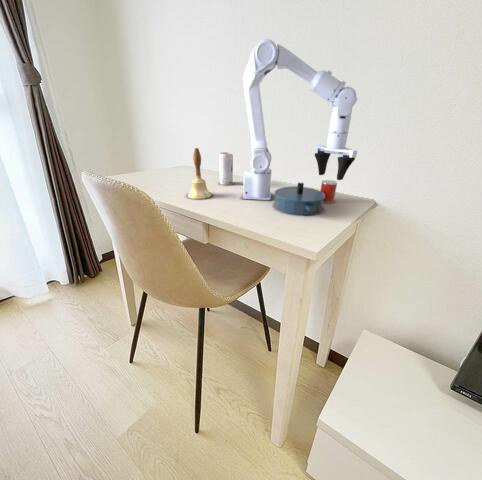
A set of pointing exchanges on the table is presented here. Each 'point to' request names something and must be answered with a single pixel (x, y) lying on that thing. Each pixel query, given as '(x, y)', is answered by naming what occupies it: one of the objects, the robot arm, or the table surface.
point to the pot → (298, 207)
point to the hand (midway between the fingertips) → (330, 177)
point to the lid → (300, 194)
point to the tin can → (328, 190)
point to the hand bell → (198, 180)
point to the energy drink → (226, 168)
